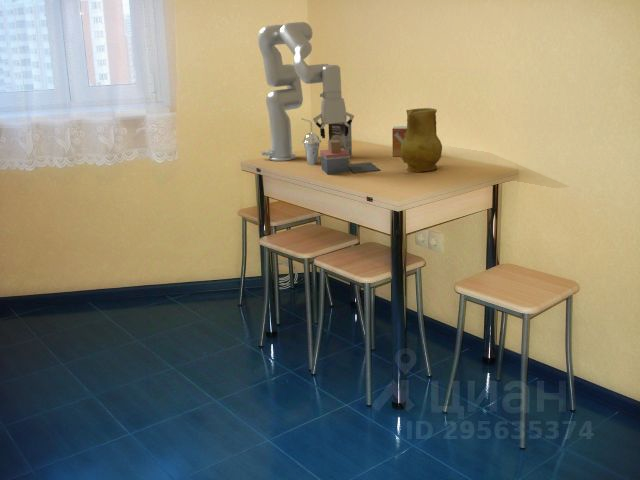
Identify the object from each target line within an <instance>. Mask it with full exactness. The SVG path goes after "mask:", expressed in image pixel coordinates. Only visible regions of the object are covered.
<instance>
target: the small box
mask: <svg viewBox="0 0 640 480" xmlns="http://www.w3.org/2000/svg"><path fill="white" fill-rule="evenodd" d="M391 131H392V134H391V135H392V144H391V145H392V146H391V147H392V157H401V144H402V142H403V140H404V138H405V135H406V131H407V125H405V126H404V125H402V126H399V125H398V126H393V127H392V130H391Z"/></svg>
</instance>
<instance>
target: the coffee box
mask: <svg viewBox="0 0 640 480" xmlns="http://www.w3.org/2000/svg"><path fill="white" fill-rule="evenodd" d="M327 126H328V140H338V141H340V142H341V148H343V149H344V150H346V151H347V152H348V153H350V158H352V156H353V150H352V149H353V145H352V144H353V143H352V141H353V140H352V139H353V137H352V123H351V124H350V125H349V126H348V134H347V136H345V135H344V124H343V123H337V124H327Z"/></svg>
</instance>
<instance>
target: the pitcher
mask: <svg viewBox="0 0 640 480" xmlns="http://www.w3.org/2000/svg"><path fill="white" fill-rule="evenodd" d="M437 112H438V109H437V108H432V107H423V108H411V109H406V115H407V116H406V126H407V131H406V135H405V138H404V140H403V142H402V144H401V156H400V158H401V160H402V162H403V163H405V164H407V166H408V167H407V169H406V170H407V171H409V172H411V173H420V172H422V173H423V172H430V171H433V170H436V169H437V168H438V165H437V163H438V162H439V161H440V160H441V158H442V154H443V153H442V151H443V145H442V142H441V139H440V138H439V137H438V135H437V114H436V113H437Z"/></svg>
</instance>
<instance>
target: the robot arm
mask: <svg viewBox="0 0 640 480" xmlns="http://www.w3.org/2000/svg"><path fill="white" fill-rule="evenodd" d="M312 37H313V28H312V26H311V25H310V24H309V23H307V22H305V21H301V22H300V21H298V22H296V21H295V22H288V23H285V24H284V23H283V24H272V25H267V26H263V27H262V28H260V30H259V31H258V35H257V44H258V48H259V50H260V53H261V56H262V61H263V62H262V63H263V68H264V74H265V80H266V83H267V85H268V86H269V87H271V88H278V87H279V88H280V87H286V88H283V89H282V88H281V89H276V90H272V91H269V92H268V94H267V95H266V97H265V103H266V107H267V111H268V117H269V129H270V142H271V143H270V144H271V145H270V146H271V148H270V150H267V151H263V150H262V151H261V156H265V157H267V156H268V160H270V161H275V162H279V161H280V162H283V161H291V160H294V159H296V158H297V156H296V154H295V153H293V142H292V127H291V126H292V125H291V119H290V117H289V115H288V113H287V112H286V111H289V110H295V109H299V108H300V107H301V106H302V105H303V102H304V101H303V100H304V97H303V89H302V82H303V83H304V84H306V85H312V84H313V85H314V84H321V83H322V90H323V91H322V93H319V97H320V98H323V99H322V100H321V105H320V106H321V107H320V108H321V109H320V113H319V114H318V115H316V116H315V117H313V119H312V121H313V122H314V123H315V126H317V127H318V128H319V129H320V137H321V138H322V139H325V138H326V131H325V127H326V126H327V125H328V124H337V123H343V124H344V135H345V136H347V134H348V126H349V125H350V124H351V125H352V122H353V120H354V117H355V115H354V114H352V113H349V112H348V111H347V108H346V102H345V99H344V98H343V95H342V78H341V67H340V65H338V64H328V63H319V64H309V65H308V64H307V62H306V61H305V59H306V58H307V57H308V56H310V54H311V52H312V49H313V47H312V46H313V45H312V44H311V43H310V40H311V39H312ZM276 45H278V46H279V45H286V46H287V47H288V49H289V50H290V52H291V53H292V54H293V56H294V57H293V64H290V63H289V64H288V63H287V64H284V63H283V57H282V54H281V52H280V51H279V48H278V47H276ZM301 81H302V82H301ZM348 117H349V118H348ZM347 118H348V120H347ZM318 120H321V123H319V121H318Z"/></svg>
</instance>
